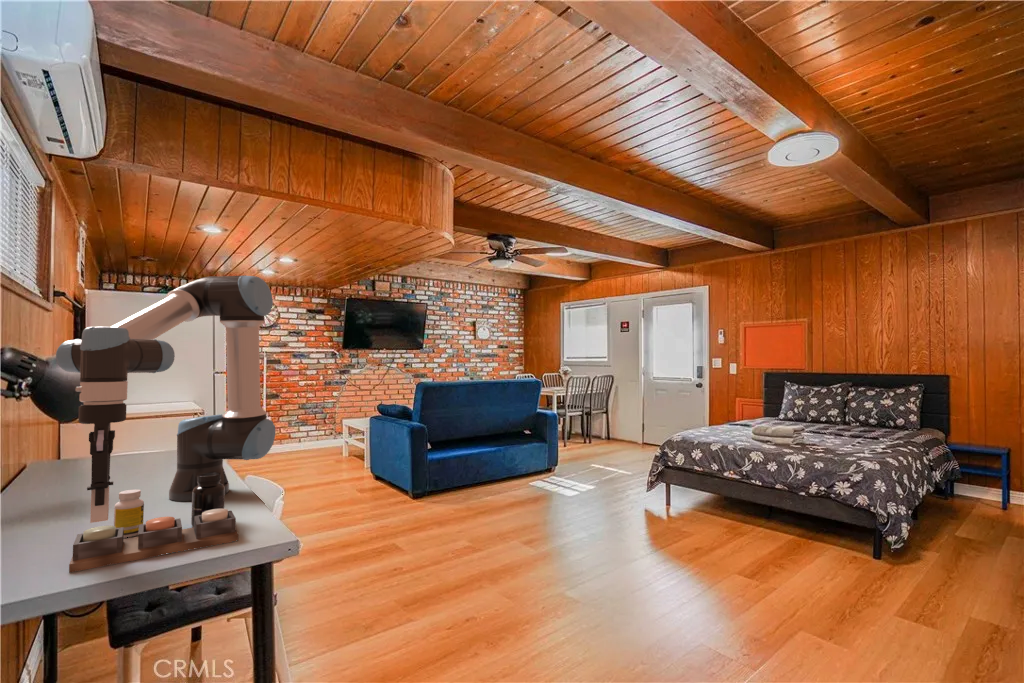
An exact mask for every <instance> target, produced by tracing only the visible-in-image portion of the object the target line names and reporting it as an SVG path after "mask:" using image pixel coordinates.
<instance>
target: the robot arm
mask: <svg viewBox="0 0 1024 683" xmlns="http://www.w3.org/2000/svg"><path fill="white" fill-rule="evenodd" d="M273 301H274V300H273V294H272V292H271V288H270V287H269V285H268V284H267V282H266V281H265V280H264V279H263V278H261V277H260V276H257V275H256V276H255V275H221V276H218V275H217V276H215V275H213V276H212V275H211V276H204V277H201V278H198V279H195V280H192V281H190V282H188V283H184V284H183V285H181V286H178V287H176V288H174V289H173V290H170V291H169V292H167V293H166V295H165V297H164V299H162V300H159V301H158V302H156V303H154V304H152V305H150V306H148V307H146V308H143V309H142V310H140V311H138V312H136V313H134V314H131V316H128V317H127V318H124V319H123V320H121V321H119V322H117V323H115V324H113V325H111V326H87V327H86V328H84V329H83V330H82V333H81V338H75V339H70V340H69V339H68V340H65V341H64V342H62V343H61V344H60V345H59V346H58V347H57V350H56V353H55V360H56V362H57V365H58V366H59V367H60V368H61V369H62V370H63V371H65V372H68V373H77V374H79V377H80V378H79V385H80V386H76V387H75V392H77V393H78V392H79V399H78V400H79V402H81V403H82V404H80V406H78V423H79V424H82V425H92V424H93V425H94V426H93V431H90V432H89V433H88V442H89V454H90V456H91V477H90V478H91V483H90V486H87V487H86V491H91V493H90V494H91V495H90V497H91V498H90V517H89V518H90V521H89V523H90V524H92V523H99V522H100V523H101V522H105V521H106V522H107V521H108V520H109V513H110V512H109V508H110V506H109V505H110V504H109V503H110V486H114V481H110V479H111V476H110V475H111V474H110V472H111V470H110V469H111V455H112V452H113V450H114V440H115V438H116V430H114V429H113V430H111V424H113V423H120V422H124V421H125V420H126V419H127V404H126V402H124V401H127V399H128V383H129V382H128V373H129V374H132V373H133V374H136V373H137V374H143V373H144V374H147V373H148V374H156V373H162V372H165V371H167V370H169V369H170V368H171V367H172V365H173V364H174V363H175V358H176V357H175V350H174V348H173V346H172V344H170V343H168V342H167V341H164V340H159V339H157V338H159V337H160V336H161V335H163V334H166V333H167V332H169V331H170V330H172V329H173V328H175V327H176V326H179V325H180V324H182V323H184V322H192V321H194V320H196V319H199V318H203V317H212V316H213V317H215V316H218V317H219V323H220V324H222V325H223V326H224V328H225V340H226V341H225V342H226V343H225V344H226V345H225V346H226V349H225V350H226V380H227V382H226V383H227V384H226V387H227V388H226V389H227V410H226V411H225V412H223V414H214V415H207V416H206V415H205V416H198V417H192V418H187V419H185V418H184V419H183V420H180V421H179V423H178V426H177V434H176V438H177V440H176V441H177V442H176V445H177V446H176V471H175V474H174V477H173V479H172V482H171V485H170V488H169V490H168V499H169V500H171V501H175V502H190V501H191V502H192V492H193V489H194V488H195V487H196V486H198V483H197V481H198V475H200V474H203V473H211V472H217V473H220V474H221V481H220V482H219V483H221V484H222V485H224V487H225V495H226V494H228V492H229V491H230V483H229V481H228V477H227V475H226V472H225V469H224V465H223V464H224V463H223V461H224V460H243V461H250V460H259V459H262V458H263V457H265V456H266V455H268V454H269V452H270V450H271V448H272V447H273V445H274V442H275V438H276V425H275V423H274V422H273V421H272V420H271V419H268V418H267V411H266V410H265V409H263V408H262V407H261V406H262V405H261V367H260V366H261V365H260V364H261V363H260V362H261V361H260V360H261V359H260V327H261V325H263V324H264V323H265V317H266V316H268V315H269V314H270V313H271V312H272V308H273V305H274V302H273Z"/></svg>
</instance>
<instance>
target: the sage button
mask: <svg viewBox="0 0 1024 683" xmlns="http://www.w3.org/2000/svg"><path fill="white" fill-rule="evenodd" d="M115 529H116V527H115V526H114V525H100V526H95V527H92V528H88V529H85V530H84V531H83V533H82V534H83V542H88V541H94V540H100V539H106V538H112V537H115Z"/></svg>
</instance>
